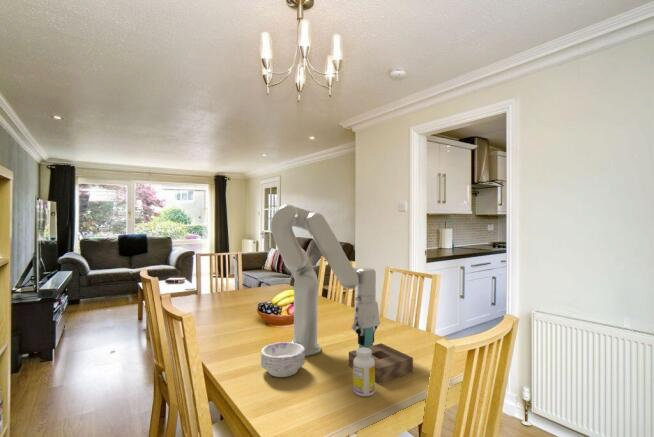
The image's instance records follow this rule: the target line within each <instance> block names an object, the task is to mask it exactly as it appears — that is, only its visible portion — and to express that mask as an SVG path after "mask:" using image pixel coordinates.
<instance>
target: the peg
mask: <svg viewBox="0 0 654 437" xmlns="http://www.w3.org/2000/svg"><path fill="white" fill-rule="evenodd" d="M360 331H361V329H360ZM363 336H364V346H362V345H360V344H358V348H362V347H364V348H366V347H369V346H373V345H374V343H373V327H371V328H367V329H364V332H363Z"/></svg>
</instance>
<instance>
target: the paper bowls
mask: <svg viewBox="0 0 654 437" xmlns="http://www.w3.org/2000/svg"><path fill="white" fill-rule="evenodd" d="M305 358H306V356H305V349H304V347H303V346H302V345H300V344H297V343H292V342H291V341H281V342H275V343H269V344H267V345H265V346H264V347H262V349H261V351H260V366H261V368H263V369H264V370H267V373H268V374H269V375H270V376H273V377H275V378H276V377H277V378H285V377H286V378H287V377H290V376H293V375H295V374H297V372H298V371H299V369H300V368H301V367H303V366H304V365H305V361H306V359H305Z"/></svg>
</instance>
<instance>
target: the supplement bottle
mask: <svg viewBox="0 0 654 437" xmlns="http://www.w3.org/2000/svg"><path fill="white" fill-rule="evenodd" d="M355 350H356V354H357V357H355V358H354V360H353V368H352V370H353V372H352V375H353V376H352V379H353V380H352V381H353V383H352V384H353V388H352V389H353V390H352V391H353V392H354V393H355V394H356V395H357V396H359V397H370V396H372V395H374V394H375V391H376V382H375V361H374V359H373V358H372V357H371V355H372V351H371V349H369V348H364V347H362V348H359V347H358V348H357V349H355Z"/></svg>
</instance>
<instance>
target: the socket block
mask: <svg viewBox="0 0 654 437" xmlns="http://www.w3.org/2000/svg"><path fill="white" fill-rule="evenodd" d="M366 348H369V349H371V351H372V355H371V357H372V358H373V359H374V361H375V384H377V385H381V384H383V383H386V382H388V381H389V382H390V381H392V380H394V379H397V378H399V377H400V378H401V377H402V376H406V375H409V374H410V373H413V371H414V358H413V356H410V355H408V354H406V353H403V352H402V351H399V350H397V349H396V348H395V349H394V348H392V347H390V346H388V345H387V344H383V343H381V342H380V343H377V344H373V346H369V347H366ZM356 350H357V349H355V350H352V351H348V367H350V368H351V369H353V360H354V358H355V357H357V354H356Z"/></svg>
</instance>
